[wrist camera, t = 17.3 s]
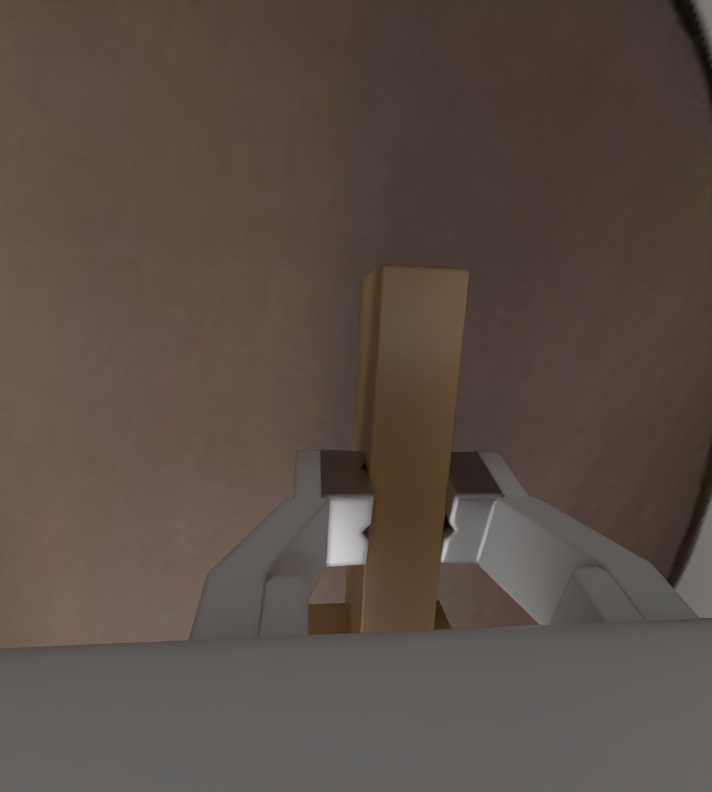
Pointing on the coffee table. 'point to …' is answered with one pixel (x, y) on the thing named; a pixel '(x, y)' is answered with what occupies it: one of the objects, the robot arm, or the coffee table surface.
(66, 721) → the robot arm
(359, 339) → the fork
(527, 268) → the coffee table surface
